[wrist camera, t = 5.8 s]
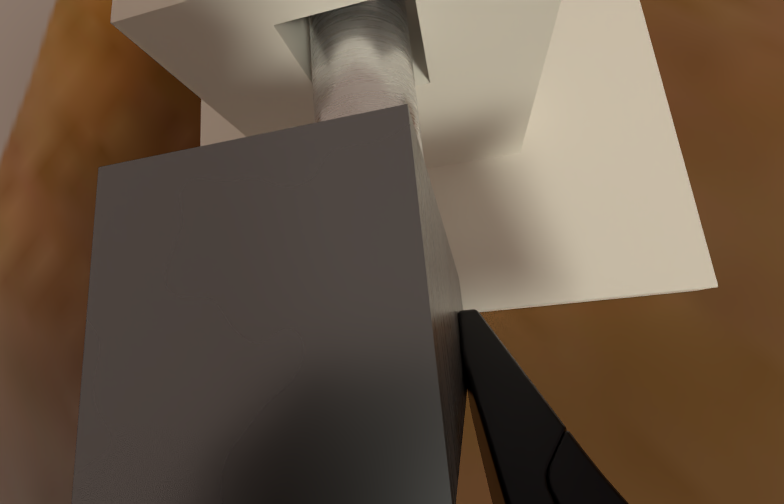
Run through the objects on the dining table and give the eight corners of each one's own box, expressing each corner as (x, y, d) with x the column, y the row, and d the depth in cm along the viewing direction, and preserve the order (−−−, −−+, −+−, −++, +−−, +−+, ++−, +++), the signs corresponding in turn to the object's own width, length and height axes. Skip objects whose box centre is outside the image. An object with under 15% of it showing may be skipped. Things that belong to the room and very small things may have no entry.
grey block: (469, 361, 13) (454, 520, 2) (387, 368, 14) (69, 520, 3) (433, 78, 16) (342, -485, 5) (364, 93, 16) (143, -383, 5)
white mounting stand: (693, 291, 14) (1332, 186, 4) (218, 337, 18) (-149, 353, 7) (608, -35, 17) (819, -594, 7) (220, 62, 21) (-34, -204, 10)
